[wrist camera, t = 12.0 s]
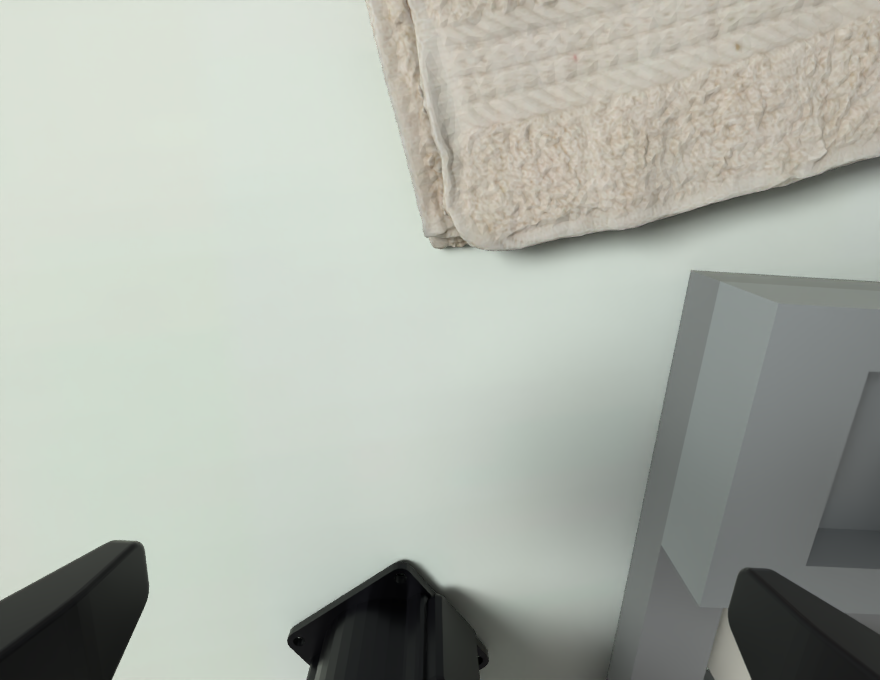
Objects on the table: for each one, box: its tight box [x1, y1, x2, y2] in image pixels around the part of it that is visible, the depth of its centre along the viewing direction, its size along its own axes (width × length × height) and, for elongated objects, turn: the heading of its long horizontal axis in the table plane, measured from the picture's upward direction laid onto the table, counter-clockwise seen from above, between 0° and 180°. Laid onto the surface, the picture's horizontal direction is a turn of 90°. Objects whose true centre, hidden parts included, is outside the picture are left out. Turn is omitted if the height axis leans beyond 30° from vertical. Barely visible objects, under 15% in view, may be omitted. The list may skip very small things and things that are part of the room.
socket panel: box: [607, 270, 880, 680], centre depth 20 cm, size 20×11×5 cm, turn 176°
